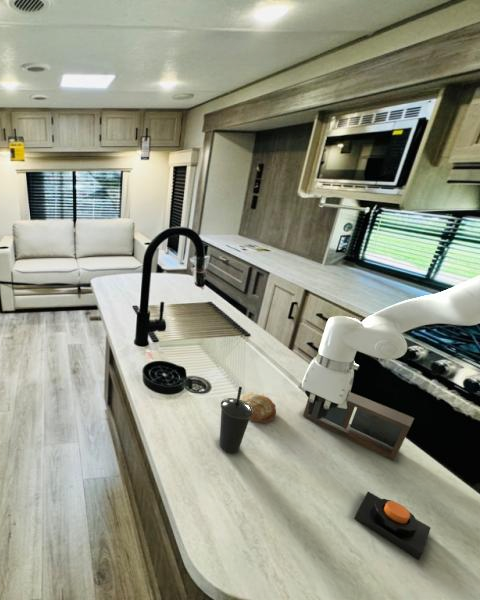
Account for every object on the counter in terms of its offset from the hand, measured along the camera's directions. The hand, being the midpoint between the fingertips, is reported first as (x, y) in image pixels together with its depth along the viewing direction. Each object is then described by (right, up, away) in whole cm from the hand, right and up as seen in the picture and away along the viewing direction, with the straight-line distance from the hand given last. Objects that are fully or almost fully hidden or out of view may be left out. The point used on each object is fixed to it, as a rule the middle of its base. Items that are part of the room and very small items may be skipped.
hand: (316, 414), depth 91 cm
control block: (-3, -15, -25) cm, 29 cm away
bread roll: (-13, -2, +8) cm, 15 cm away
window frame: (+9, -5, -1) cm, 10 cm away
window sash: (+3, -3, 0) cm, 4 cm away
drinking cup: (-28, -8, -4) cm, 29 cm away
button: (-3, -11, -26) cm, 29 cm away
